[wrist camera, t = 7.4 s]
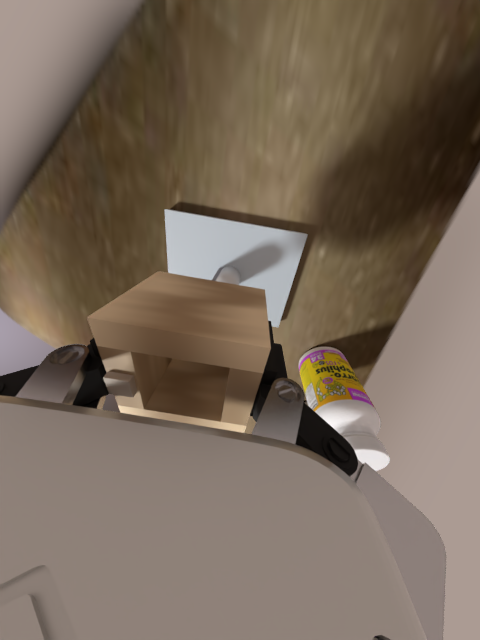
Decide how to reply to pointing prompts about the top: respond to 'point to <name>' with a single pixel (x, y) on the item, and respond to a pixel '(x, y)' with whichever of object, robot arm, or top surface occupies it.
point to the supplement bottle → (343, 403)
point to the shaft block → (235, 254)
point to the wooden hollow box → (185, 349)
